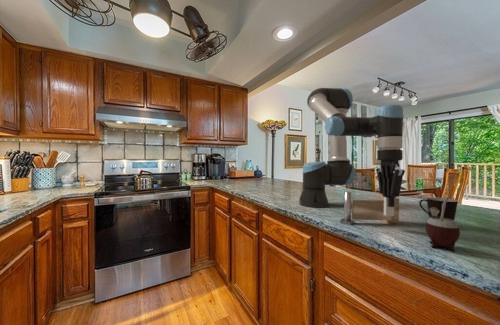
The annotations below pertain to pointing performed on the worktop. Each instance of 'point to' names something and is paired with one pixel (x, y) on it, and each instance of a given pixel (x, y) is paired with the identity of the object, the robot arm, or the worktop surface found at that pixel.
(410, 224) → the worktop surface
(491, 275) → the worktop surface
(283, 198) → the worktop surface
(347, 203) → the hinge post
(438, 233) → the mate gourd
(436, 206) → the coffee mug
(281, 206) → the worktop surface
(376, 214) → the gate
